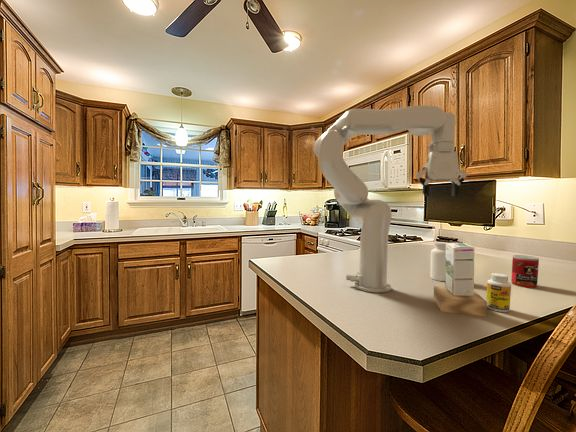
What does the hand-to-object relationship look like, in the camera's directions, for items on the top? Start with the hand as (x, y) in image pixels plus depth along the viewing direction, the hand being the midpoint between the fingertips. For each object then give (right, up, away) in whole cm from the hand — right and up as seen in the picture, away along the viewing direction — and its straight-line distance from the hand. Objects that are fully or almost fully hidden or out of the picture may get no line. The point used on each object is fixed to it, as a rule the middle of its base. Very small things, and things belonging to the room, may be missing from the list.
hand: (440, 196), depth 102 cm
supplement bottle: (+6, -35, -20) cm, 41 cm away
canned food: (+35, -34, +5) cm, 49 cm away
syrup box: (-5, -30, -19) cm, 36 cm away
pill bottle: (+7, -33, +12) cm, 36 cm away
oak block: (-5, -35, -19) cm, 40 cm away
